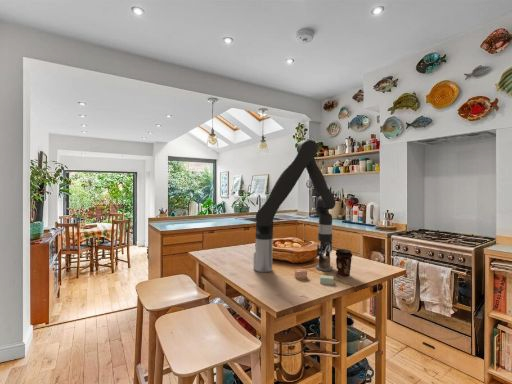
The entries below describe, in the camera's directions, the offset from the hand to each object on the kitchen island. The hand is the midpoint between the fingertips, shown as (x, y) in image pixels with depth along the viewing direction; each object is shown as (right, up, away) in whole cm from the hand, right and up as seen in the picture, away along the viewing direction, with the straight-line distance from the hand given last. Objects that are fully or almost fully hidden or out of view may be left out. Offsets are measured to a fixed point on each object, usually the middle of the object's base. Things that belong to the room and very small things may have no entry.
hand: (324, 261), depth 149 cm
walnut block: (0, -3, 0) cm, 3 cm away
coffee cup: (+7, -5, -10) cm, 13 cm away
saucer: (0, -4, 0) cm, 4 cm away
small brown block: (-15, -4, -14) cm, 22 cm away
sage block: (-4, -5, -21) cm, 22 cm away
